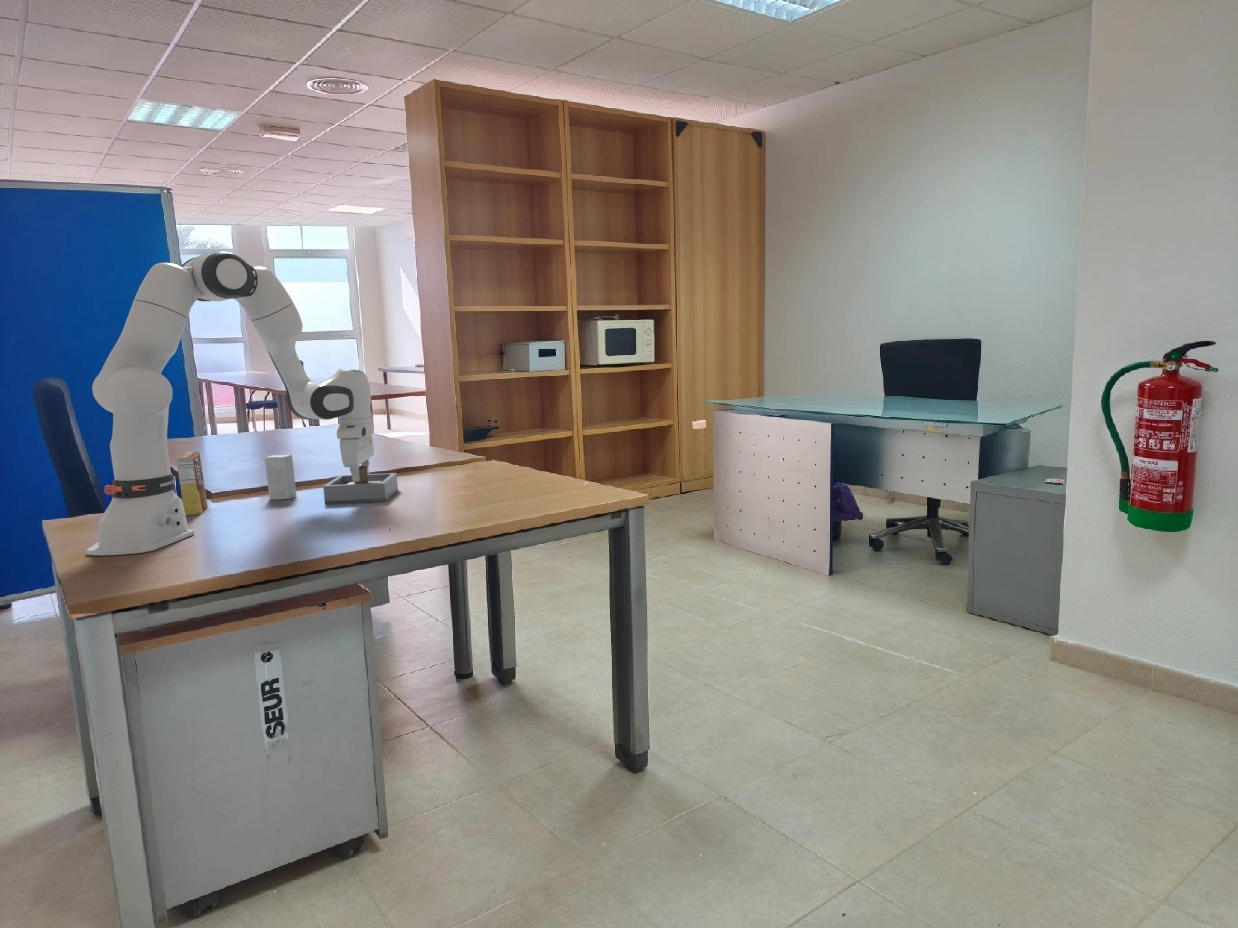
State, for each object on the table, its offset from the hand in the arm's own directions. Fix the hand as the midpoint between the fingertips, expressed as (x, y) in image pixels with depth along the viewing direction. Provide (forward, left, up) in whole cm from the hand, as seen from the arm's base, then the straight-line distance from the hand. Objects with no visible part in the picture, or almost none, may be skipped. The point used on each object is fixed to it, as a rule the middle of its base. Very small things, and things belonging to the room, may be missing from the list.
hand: (361, 477), depth 219 cm
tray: (0, 0, -5) cm, 5 cm away
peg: (0, 0, -4) cm, 4 cm away
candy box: (-9, +41, -6) cm, 42 cm away
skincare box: (+4, +23, -6) cm, 24 cm away
